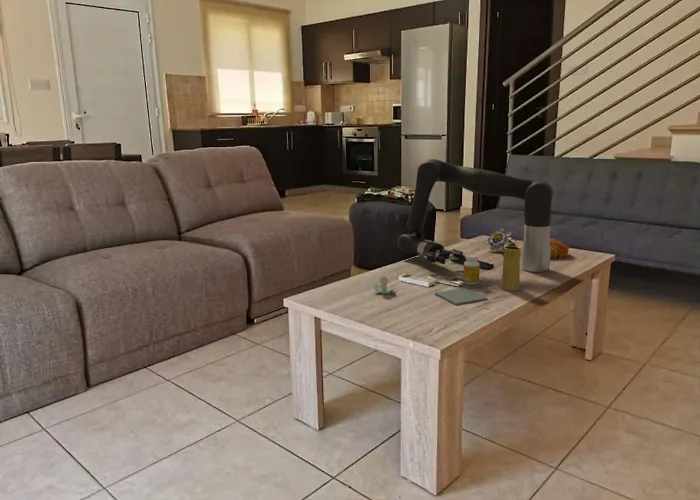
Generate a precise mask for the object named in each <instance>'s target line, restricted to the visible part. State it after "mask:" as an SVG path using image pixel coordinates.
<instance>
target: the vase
mask: <svg viewBox="0 0 700 500" xmlns="http://www.w3.org/2000/svg"><path fill="white" fill-rule="evenodd" d="M502 262H503V263H502V264H503V265H502V274H501V285H500V289H501V290H503V291H508V292H516V291H520V279H521V278H520V272H521V268H520V267H521V247H519V246H517V245H516V246H508V245H506V246H504V249H503V261H502Z"/></svg>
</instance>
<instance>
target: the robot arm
mask: <svg viewBox="0 0 700 500" xmlns="http://www.w3.org/2000/svg"><path fill="white" fill-rule="evenodd" d="M416 172H417V173H416V180H415V181H416V182H415V188H414V194H413V195H414V196H413V199H412V203H411V206H410V210H409V214H408V217H407V218H408V219H407V222H406V228H407V229H408V230H409V231H411V232H413V234H410V233H404V234H401V235H400V236H399V237H397V242H396V245H397V247H398V248H399V250H401V251H402V252H405V253H408V254H414V255H417V256H418V257H422V259H423V260H425V261H426V262H429V263H434V264H435V263H439V264H442V265H445V264H446V260H447V261H449V260H450V261H453V260H458V261H460V262H465V261H466V255H465V254H464V252H463V251H462V250H459V249H456V248H453V249H446V248H445V247H444V246H443V245H442V244H441V243H439V242H435V241H433V240H430V239H429V240H428V239H426V238H424V226H425V223H426V221H427V220H426V219H427V215H428V210H429V200H430V196H431V194H432V190H433V188H434V186H435V183H437V182H439V183H440V182H441V183H450V184H453V185H456V186H458V187H461V188H462V189H465V190H467V191H469V192H472V193H475V194H479V195H485V196H491V197H508V198H509V197H510V198H515V199H519V200H522V201H524V212H523V213H524V214H523V215H524V222H523V223H524V225H523V226H524V227H523V243H522V244H523V245H522V260H521V269H522V270H524V271H525V272H526V271H527V272H531V273H543V272H546V271H548V270H550V266H551V265H550V264H551V258H550V254H551V245H550V244H549V239H551V238H550V237H551V223H552V217H551V216H552V214H551V212H552V201H553V197H554V189H553V187H552V185H551V184H550V183H549V182H546V181H544V180H533V179H524V178H517V177H514V176H510V175H506V174H503V173H500V172H495V171H491V170H486V169H482V168H476V167H470V166H461V165H455V164H452V163H449V162H446V161H443V160H439V159H437V158H430V159H427V160H425V161H423V162H422V163H420V164H419V166H418V168H417V171H416Z"/></svg>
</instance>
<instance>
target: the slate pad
mask: <svg viewBox="0 0 700 500" xmlns="http://www.w3.org/2000/svg"><path fill="white" fill-rule="evenodd" d="M434 295H435V296H437V297H439V298H441V299H443V300H445V301H447V302H448V303H450V304H453V305H454V306H458V305H459V306H460V305H465V304H471V303H475V302H483V301H488V297H487V296H484V295H483V294H480V293H478V292H476V291H474V290H470V289H467V288H464V287H462V288H456V289H455V288H454V289H450V290H445V291H443V290H442V291H438V292H434Z"/></svg>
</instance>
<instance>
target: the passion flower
mask: <svg viewBox="0 0 700 500" xmlns="http://www.w3.org/2000/svg"><path fill="white" fill-rule="evenodd" d="M511 235H512V232H504V227H501V228H500V229H497V230H496V231H495V230H494V231H491V233H490V234H489V237H488V238H487V240H485V241H484V242H483V244H485V245H490V247H489V250H490V251H492V250H493V253H497V252H498V250H499V251H501V252H502V251H504V247H505V245H506V246H517V245H516V243H517V239H516V238H515V236H513V237H510V236H511ZM512 239H513V240H514V242H513V241H512Z"/></svg>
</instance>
